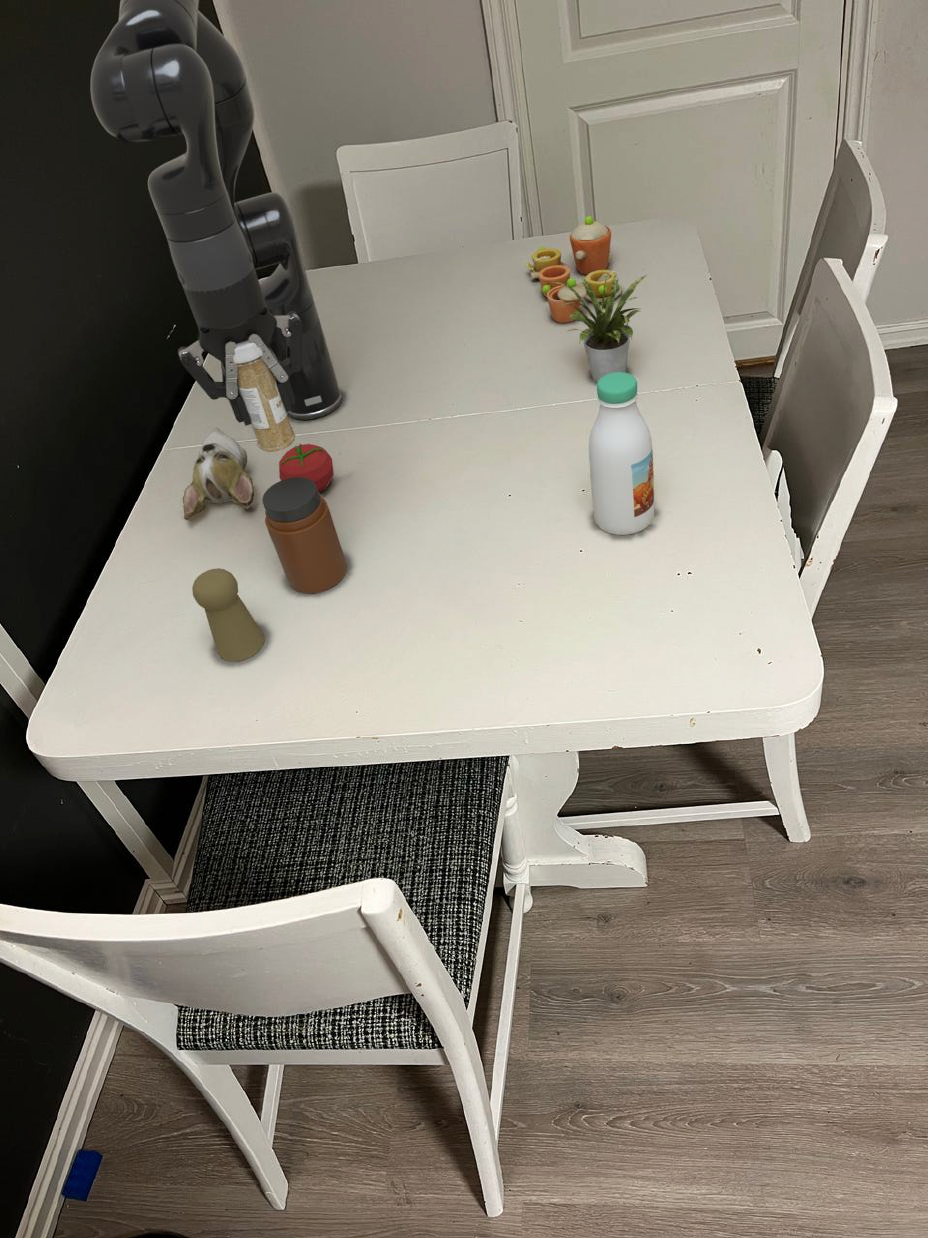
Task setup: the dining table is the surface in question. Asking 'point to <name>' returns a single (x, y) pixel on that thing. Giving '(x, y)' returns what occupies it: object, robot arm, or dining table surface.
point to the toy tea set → (590, 260)
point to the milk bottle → (621, 459)
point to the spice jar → (262, 399)
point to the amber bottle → (304, 535)
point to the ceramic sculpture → (218, 475)
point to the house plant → (605, 330)
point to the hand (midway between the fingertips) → (267, 414)
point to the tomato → (307, 465)
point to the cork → (227, 616)
